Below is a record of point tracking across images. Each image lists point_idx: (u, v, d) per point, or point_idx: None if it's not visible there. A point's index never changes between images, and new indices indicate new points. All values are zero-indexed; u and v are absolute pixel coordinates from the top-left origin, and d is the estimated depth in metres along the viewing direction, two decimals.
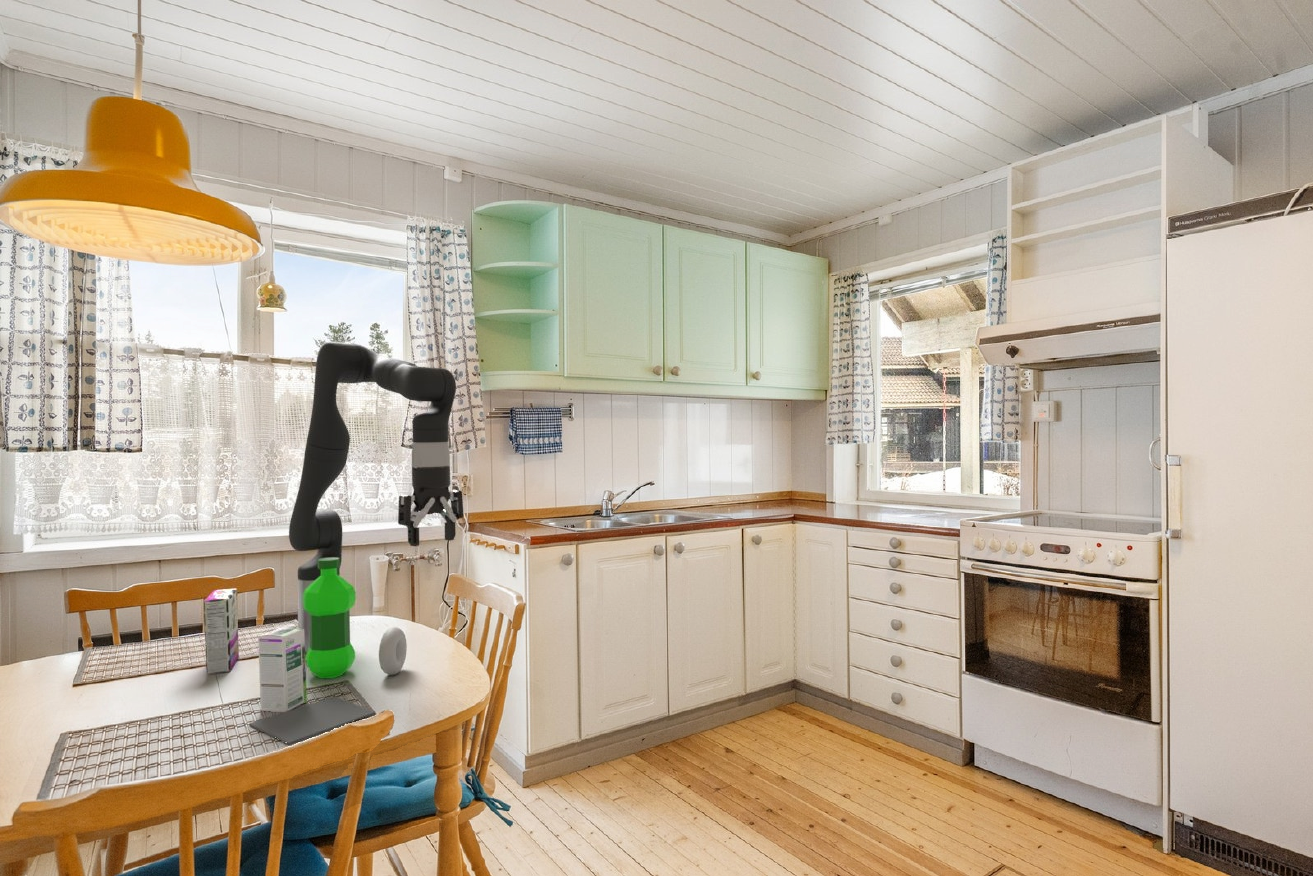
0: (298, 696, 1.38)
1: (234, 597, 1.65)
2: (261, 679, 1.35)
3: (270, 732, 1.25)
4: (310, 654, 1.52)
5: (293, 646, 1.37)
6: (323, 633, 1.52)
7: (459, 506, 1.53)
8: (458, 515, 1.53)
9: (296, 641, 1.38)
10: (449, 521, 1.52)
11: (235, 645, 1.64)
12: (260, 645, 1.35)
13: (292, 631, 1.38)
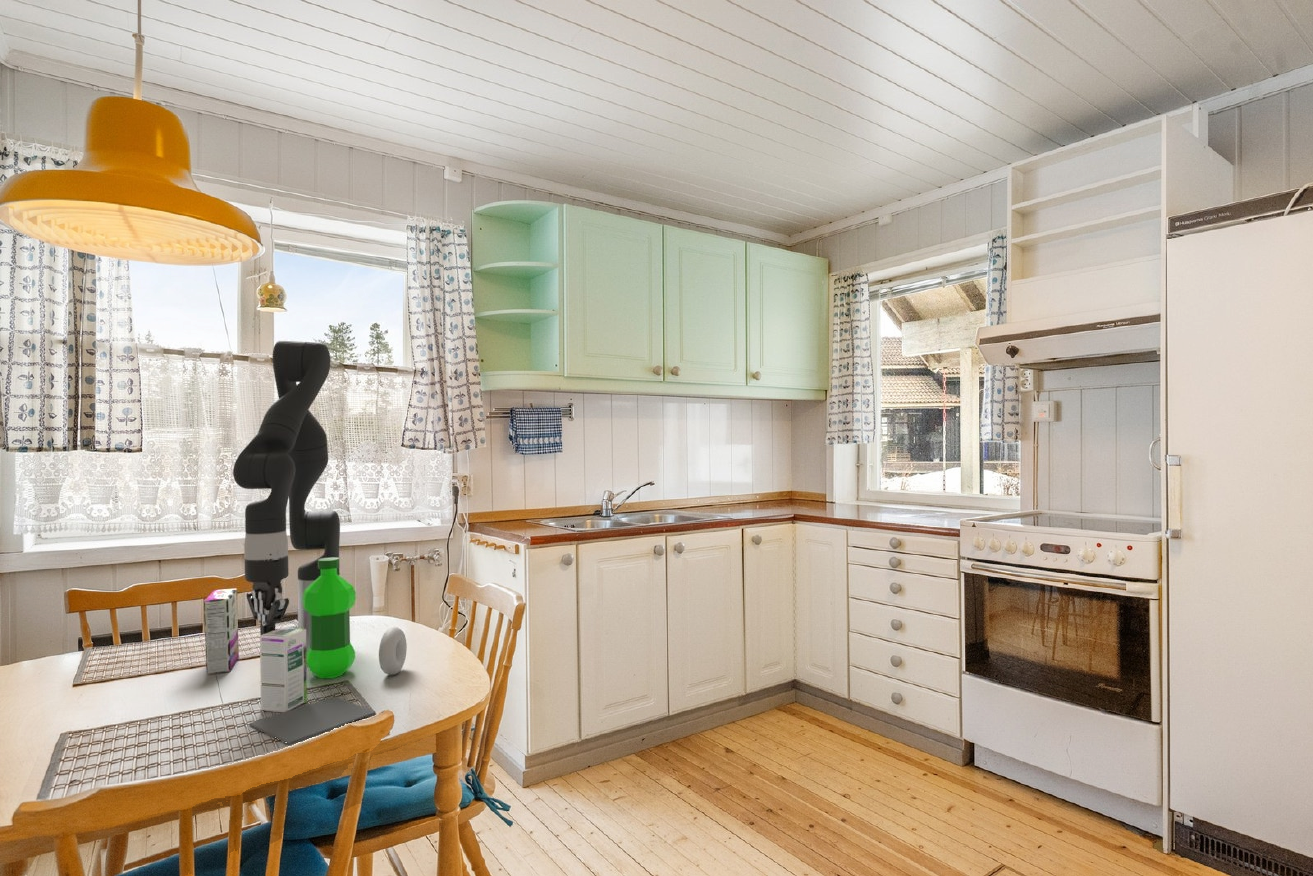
0: (298, 696, 1.38)
1: (234, 597, 1.65)
2: (262, 678, 1.35)
3: (270, 732, 1.25)
4: (310, 654, 1.52)
5: (295, 646, 1.37)
6: (323, 633, 1.52)
7: None
8: None
9: (298, 641, 1.37)
10: None
11: (235, 645, 1.64)
12: (262, 644, 1.35)
13: (294, 631, 1.38)
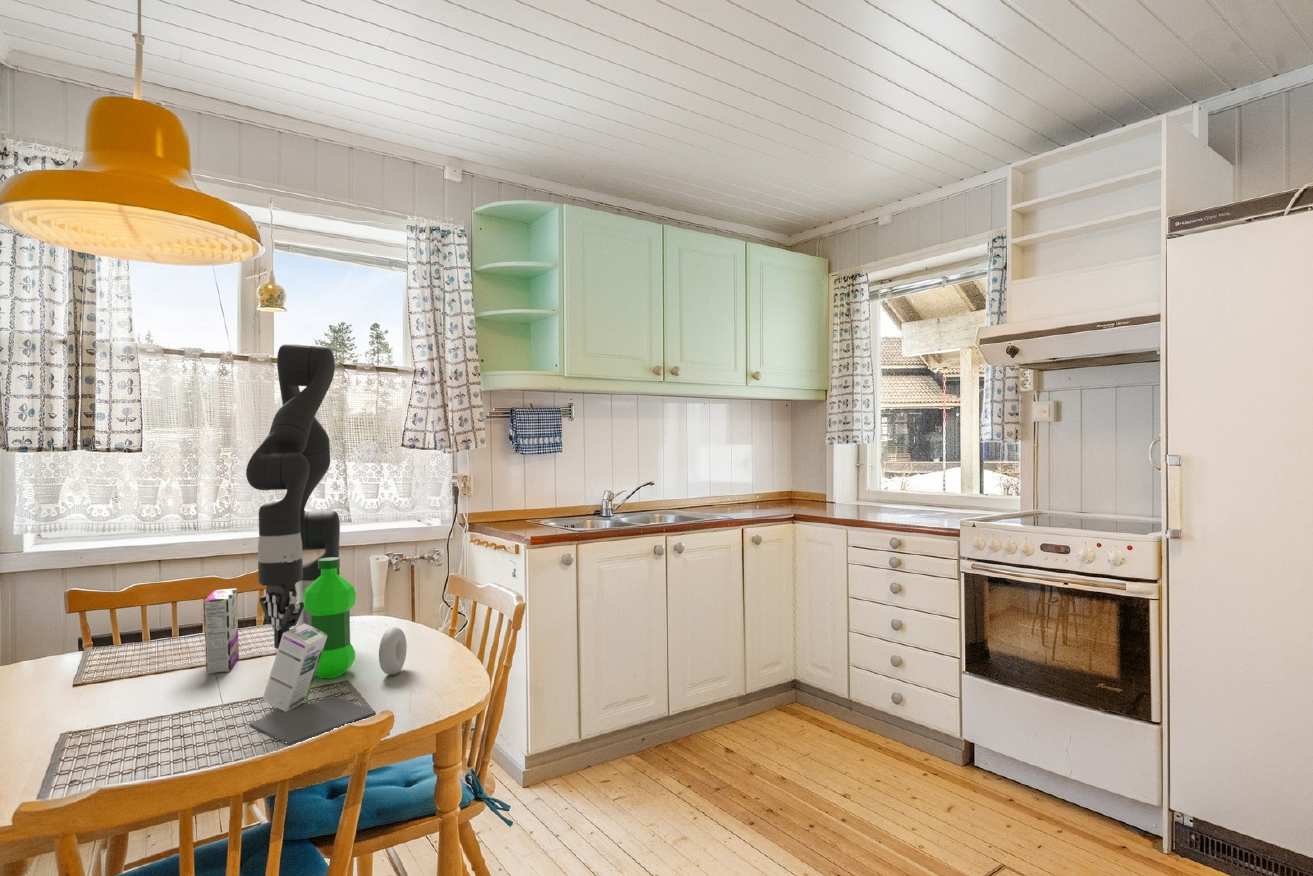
0: (301, 696, 1.37)
1: (234, 597, 1.65)
2: (272, 672, 1.35)
3: (270, 732, 1.25)
4: None
5: (313, 652, 1.35)
6: None
7: None
8: None
9: (317, 647, 1.36)
10: None
11: (235, 645, 1.64)
12: (282, 642, 1.34)
13: (316, 636, 1.36)
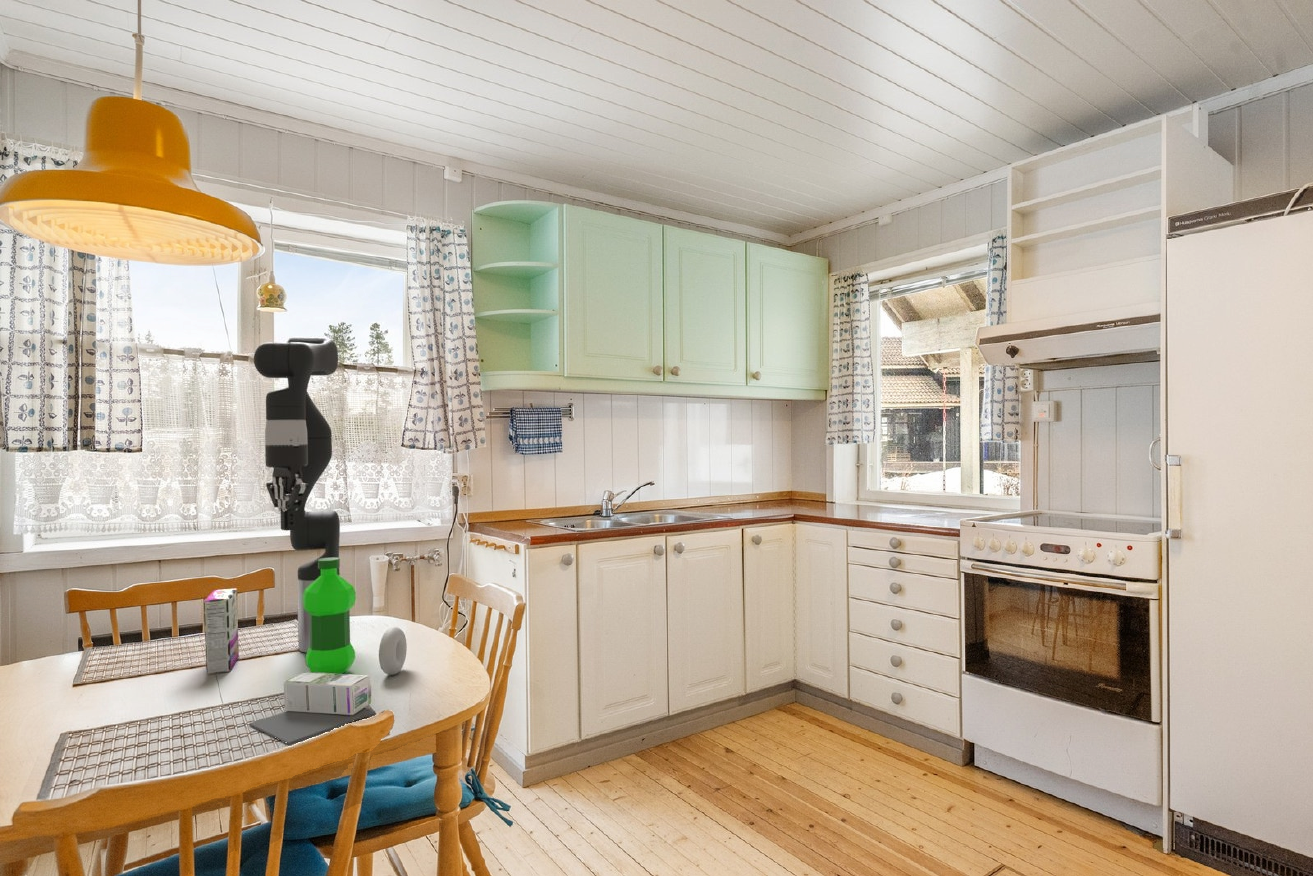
0: None
1: (234, 597, 1.65)
2: (312, 685, 1.33)
3: (270, 732, 1.25)
4: (310, 654, 1.52)
5: None
6: (323, 633, 1.52)
7: None
8: None
9: None
10: None
11: (235, 645, 1.64)
12: (342, 688, 1.31)
13: (364, 704, 1.34)
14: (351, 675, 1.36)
